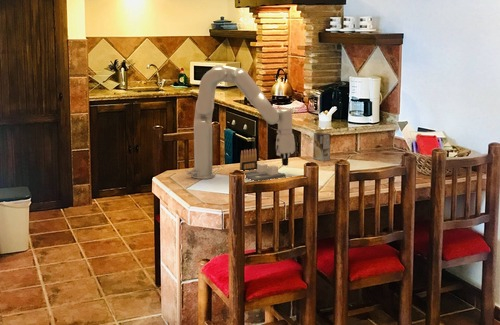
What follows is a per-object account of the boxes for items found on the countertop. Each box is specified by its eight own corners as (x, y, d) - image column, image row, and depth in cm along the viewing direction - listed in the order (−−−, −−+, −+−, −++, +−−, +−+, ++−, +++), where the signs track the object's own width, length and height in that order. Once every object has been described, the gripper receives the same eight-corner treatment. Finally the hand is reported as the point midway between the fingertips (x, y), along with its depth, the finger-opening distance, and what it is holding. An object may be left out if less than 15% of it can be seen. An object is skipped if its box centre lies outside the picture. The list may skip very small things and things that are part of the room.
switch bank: (254, 181, 342) (254, 178, 342) (240, 176, 354) (240, 173, 353) (285, 176, 353) (285, 173, 353) (270, 171, 364) (270, 168, 364)
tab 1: (261, 173, 354) (261, 165, 353) (257, 172, 358) (257, 164, 357) (267, 172, 356) (267, 164, 355) (263, 171, 360) (263, 163, 359)
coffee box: (330, 160, 395) (331, 133, 391) (322, 161, 391) (323, 135, 388) (320, 157, 402) (320, 131, 399) (312, 158, 398) (313, 132, 395)
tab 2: (271, 175, 350) (272, 167, 349) (267, 174, 353) (267, 166, 352) (277, 174, 352) (278, 166, 351) (273, 173, 355) (273, 165, 354)
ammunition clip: (241, 171, 365) (241, 150, 362) (239, 170, 366) (239, 149, 364) (257, 169, 370) (257, 148, 368) (255, 168, 372) (255, 147, 369)
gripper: (277, 134, 344) (278, 168, 348) (300, 131, 352) (300, 164, 356) (269, 132, 351) (269, 165, 355) (292, 129, 359) (292, 162, 363)
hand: (285, 165), depth 355 cm, fingers closed
